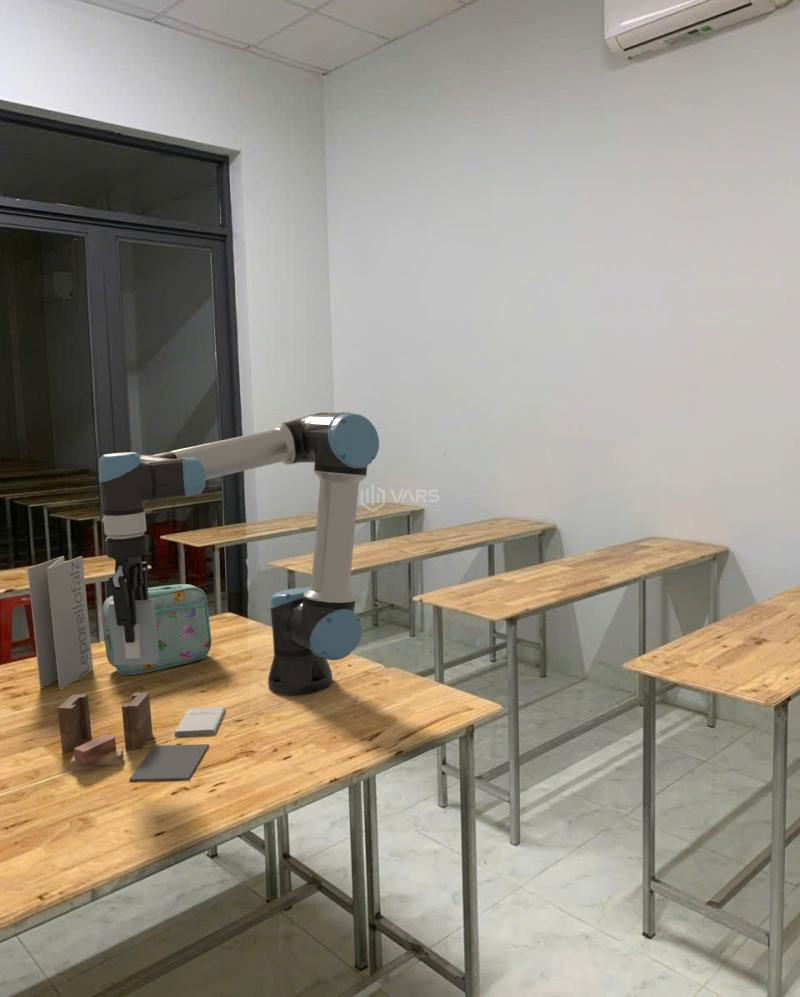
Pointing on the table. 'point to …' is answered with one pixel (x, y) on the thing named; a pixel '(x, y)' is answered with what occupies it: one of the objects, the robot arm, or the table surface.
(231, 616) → the table surface
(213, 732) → the external hard drive
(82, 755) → the mahogany offcut
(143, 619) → the grey upright panel
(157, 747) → the mat
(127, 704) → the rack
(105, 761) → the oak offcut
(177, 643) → the lunch box
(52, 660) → the brochure
